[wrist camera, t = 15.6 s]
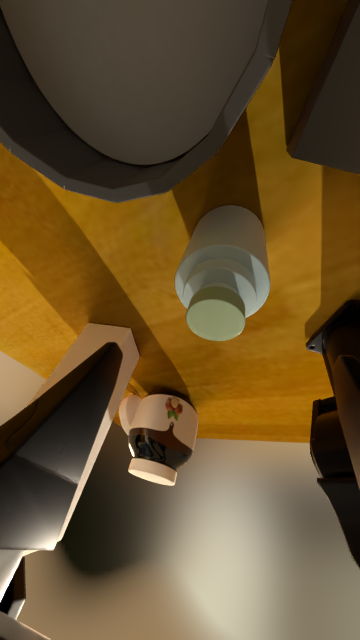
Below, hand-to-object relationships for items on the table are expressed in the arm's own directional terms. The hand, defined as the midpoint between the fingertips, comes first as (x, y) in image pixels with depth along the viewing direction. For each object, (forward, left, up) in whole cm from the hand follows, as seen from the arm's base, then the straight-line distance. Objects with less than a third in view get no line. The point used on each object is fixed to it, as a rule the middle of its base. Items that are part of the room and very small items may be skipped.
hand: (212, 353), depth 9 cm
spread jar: (-31, +2, -11) cm, 33 cm away
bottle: (0, 0, -11) cm, 11 cm away
